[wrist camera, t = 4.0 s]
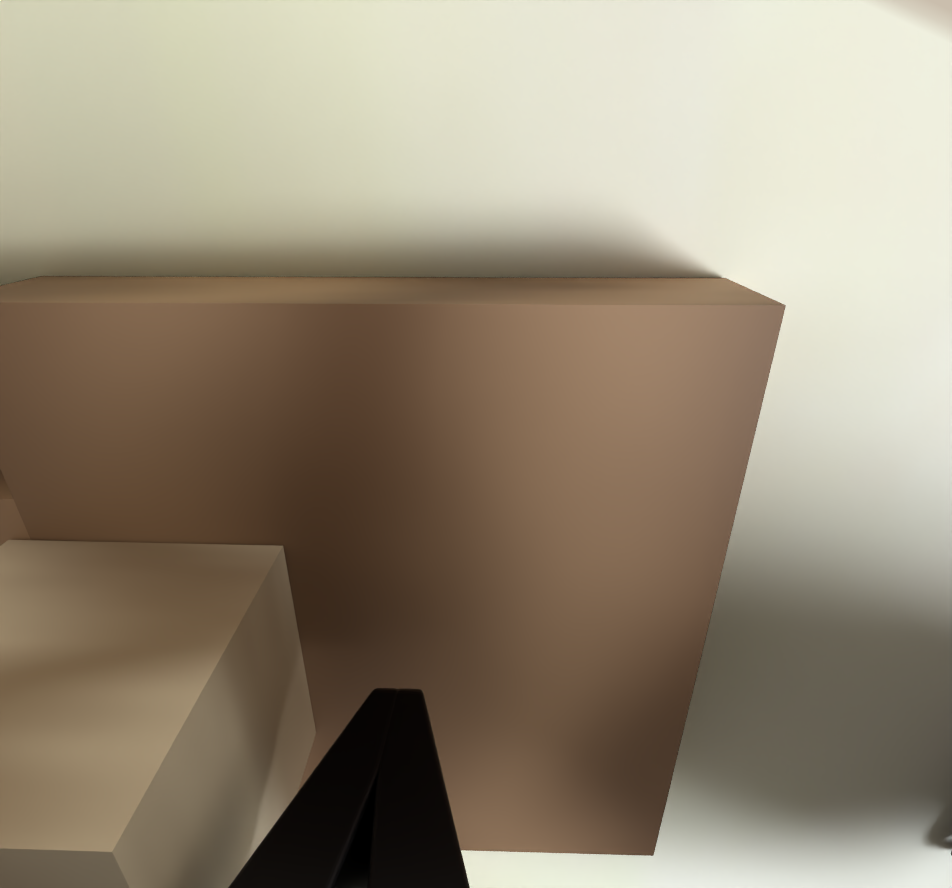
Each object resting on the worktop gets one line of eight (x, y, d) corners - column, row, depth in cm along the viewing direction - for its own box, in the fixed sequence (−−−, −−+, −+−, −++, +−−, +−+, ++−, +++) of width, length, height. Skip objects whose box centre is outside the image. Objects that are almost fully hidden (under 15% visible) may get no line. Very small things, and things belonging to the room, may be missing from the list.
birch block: (282, 546, 9) (112, 851, 5) (315, 732, 11) (212, 1061, 7) (8, 539, 9) (-380, 836, 5) (90, 726, 11) (-142, 1046, 7)
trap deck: (725, 277, 9) (855, 337, 6) (632, 768, 14) (673, 939, 11) (-661, 274, 9) (-1247, 327, 6) (-250, 746, 15) (-454, 904, 11)
